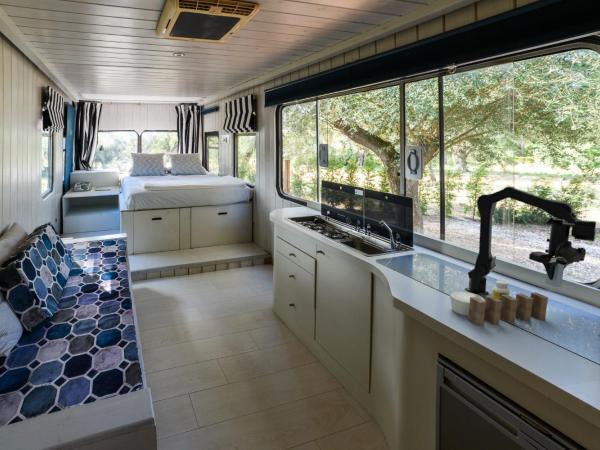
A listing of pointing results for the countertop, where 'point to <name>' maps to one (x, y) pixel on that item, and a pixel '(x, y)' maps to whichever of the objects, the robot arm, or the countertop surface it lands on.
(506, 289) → the supplement bottle
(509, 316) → the brown wooden block
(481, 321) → the tile
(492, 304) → the tile
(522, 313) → the brown rectangular block
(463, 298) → the ramekin
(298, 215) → the countertop surface
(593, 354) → the countertop surface
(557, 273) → the block
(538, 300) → the brown rectangular block
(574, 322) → the countertop surface
